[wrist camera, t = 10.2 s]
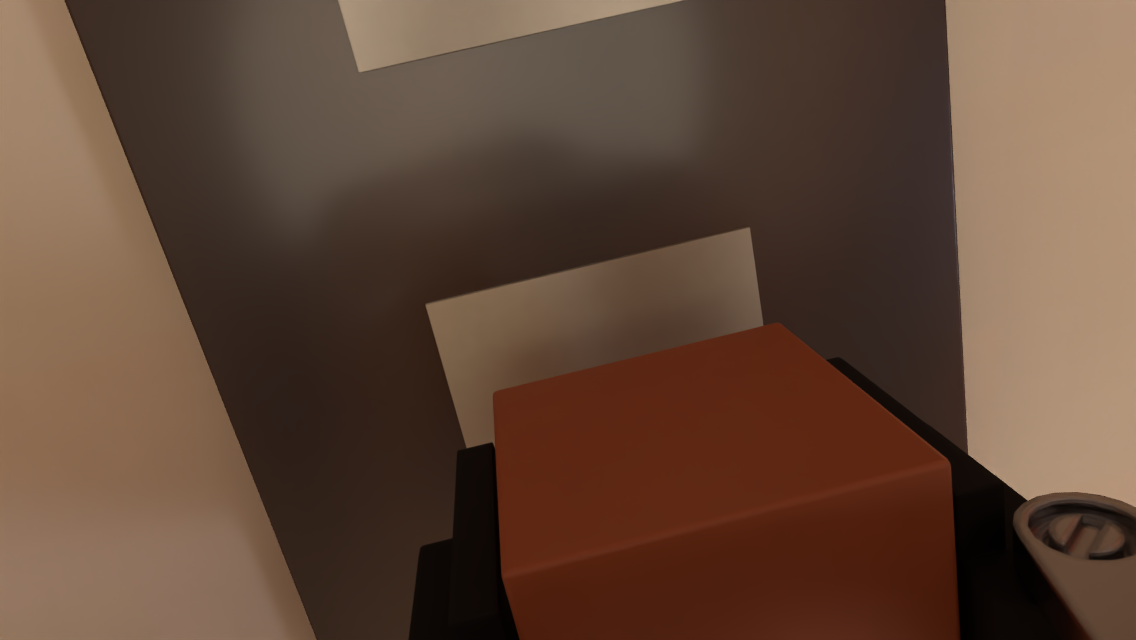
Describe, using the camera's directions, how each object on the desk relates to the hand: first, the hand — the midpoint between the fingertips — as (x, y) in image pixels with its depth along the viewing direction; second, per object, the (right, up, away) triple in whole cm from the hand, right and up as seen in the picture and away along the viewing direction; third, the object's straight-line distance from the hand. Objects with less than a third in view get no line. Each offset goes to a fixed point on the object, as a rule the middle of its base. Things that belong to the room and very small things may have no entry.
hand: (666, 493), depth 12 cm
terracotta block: (0, 0, 0) cm, 0 cm away
